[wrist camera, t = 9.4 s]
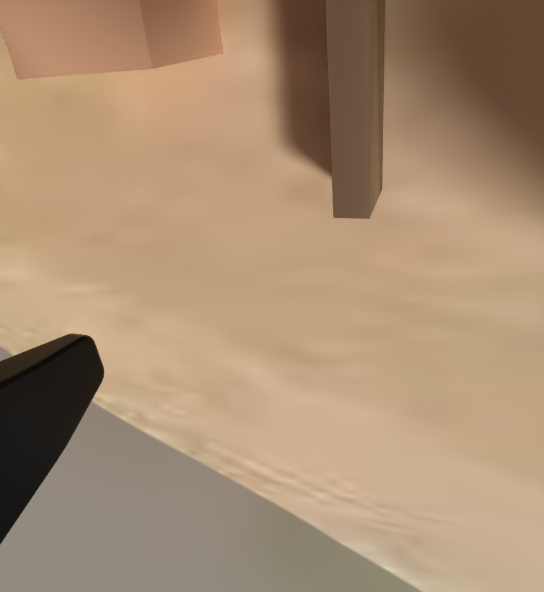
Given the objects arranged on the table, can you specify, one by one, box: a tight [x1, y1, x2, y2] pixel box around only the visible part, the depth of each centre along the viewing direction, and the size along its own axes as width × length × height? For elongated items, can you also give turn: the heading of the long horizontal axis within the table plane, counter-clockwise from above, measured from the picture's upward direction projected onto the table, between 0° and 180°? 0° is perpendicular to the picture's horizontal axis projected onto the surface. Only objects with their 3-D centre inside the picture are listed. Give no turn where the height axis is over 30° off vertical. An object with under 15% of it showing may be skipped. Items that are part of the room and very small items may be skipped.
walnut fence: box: [325, 0, 385, 219], centre depth 16 cm, size 14×13×3 cm
